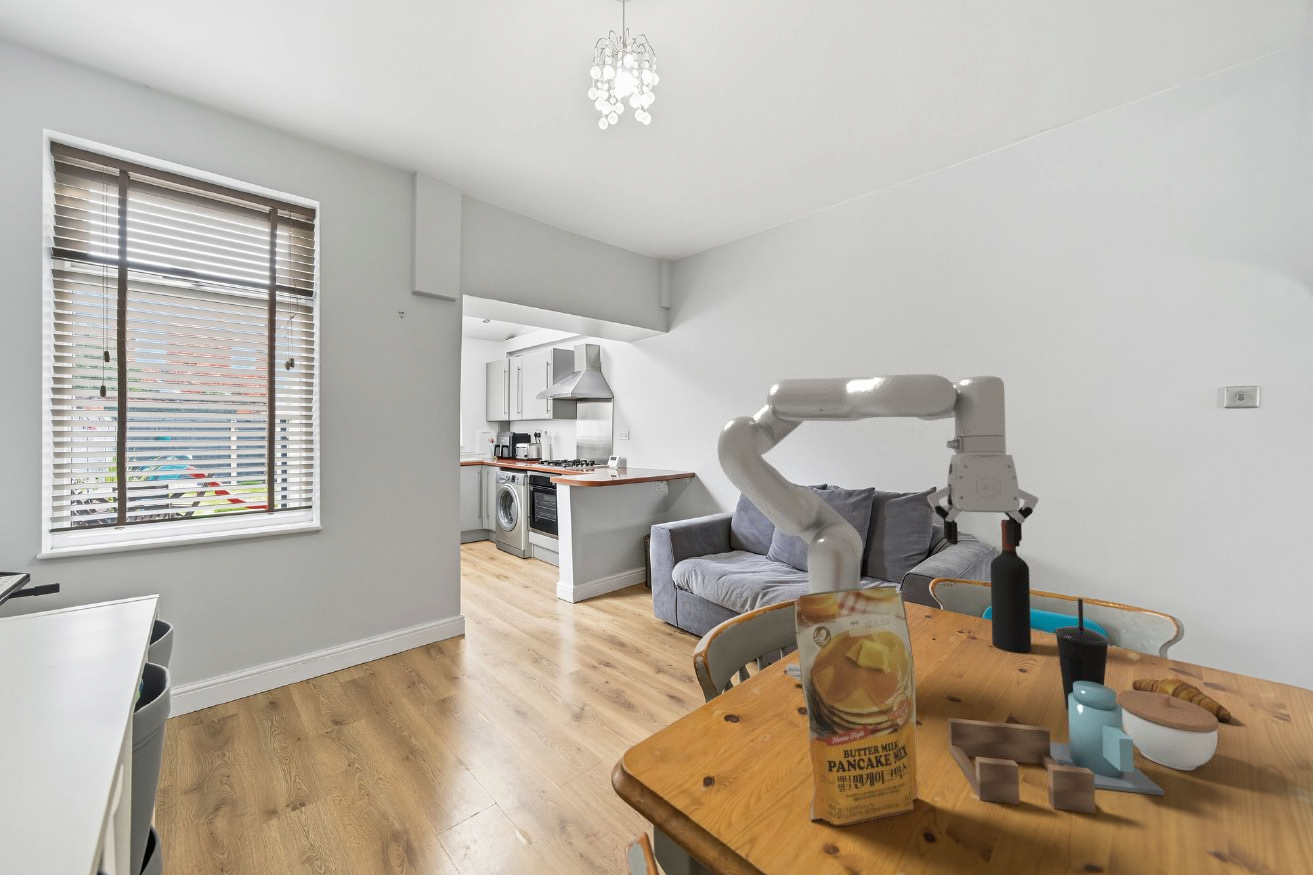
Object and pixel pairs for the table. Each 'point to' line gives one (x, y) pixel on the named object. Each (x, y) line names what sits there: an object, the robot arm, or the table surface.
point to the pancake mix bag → (858, 702)
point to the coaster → (1122, 783)
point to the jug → (1098, 731)
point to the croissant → (1183, 694)
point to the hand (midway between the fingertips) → (982, 544)
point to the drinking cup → (1081, 654)
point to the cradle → (998, 766)
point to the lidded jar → (1169, 729)
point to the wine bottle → (1010, 600)
